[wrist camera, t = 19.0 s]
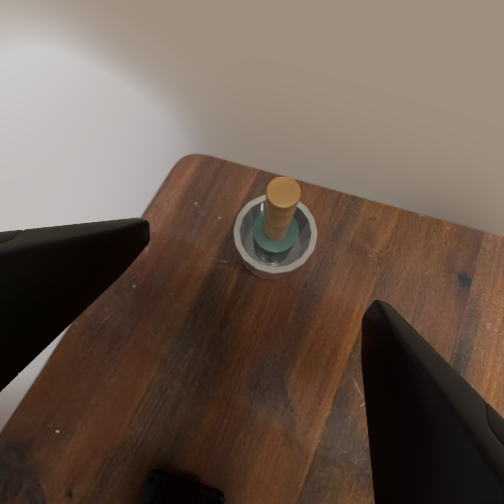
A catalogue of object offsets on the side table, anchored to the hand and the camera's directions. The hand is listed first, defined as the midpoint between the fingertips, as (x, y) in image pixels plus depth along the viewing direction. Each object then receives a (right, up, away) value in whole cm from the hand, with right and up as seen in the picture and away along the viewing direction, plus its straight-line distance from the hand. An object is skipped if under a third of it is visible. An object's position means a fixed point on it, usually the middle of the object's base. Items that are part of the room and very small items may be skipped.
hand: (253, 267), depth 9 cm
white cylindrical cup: (+2, +1, +14) cm, 14 cm away
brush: (+2, +1, +14) cm, 14 cm away
